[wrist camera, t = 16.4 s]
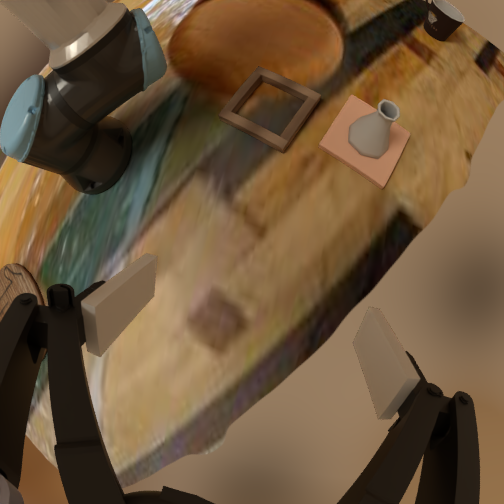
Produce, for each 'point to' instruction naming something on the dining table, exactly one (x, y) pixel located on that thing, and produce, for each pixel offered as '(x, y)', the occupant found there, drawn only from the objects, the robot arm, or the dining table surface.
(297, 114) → the walnut holder
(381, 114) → the flask
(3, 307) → the trivet
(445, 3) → the coffee mug
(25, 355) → the robot arm
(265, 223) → the dining table surface
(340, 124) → the terracotta coaster
